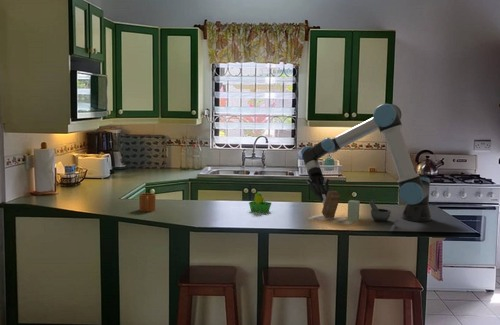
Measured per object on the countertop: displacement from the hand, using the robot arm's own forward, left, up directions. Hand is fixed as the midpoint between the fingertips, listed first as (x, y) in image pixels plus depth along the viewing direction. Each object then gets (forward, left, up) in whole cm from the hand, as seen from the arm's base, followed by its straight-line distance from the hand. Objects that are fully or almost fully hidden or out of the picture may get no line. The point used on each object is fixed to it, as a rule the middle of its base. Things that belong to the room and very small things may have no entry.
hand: (326, 205), depth 282 cm
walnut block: (-1, 0, -5) cm, 5 cm away
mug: (+90, +40, -8) cm, 99 cm away
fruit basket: (+39, +3, -8) cm, 40 cm away
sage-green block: (-15, -1, -6) cm, 16 cm away
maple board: (-6, +3, -8) cm, 10 cm away
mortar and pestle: (-26, -9, -8) cm, 29 cm away
